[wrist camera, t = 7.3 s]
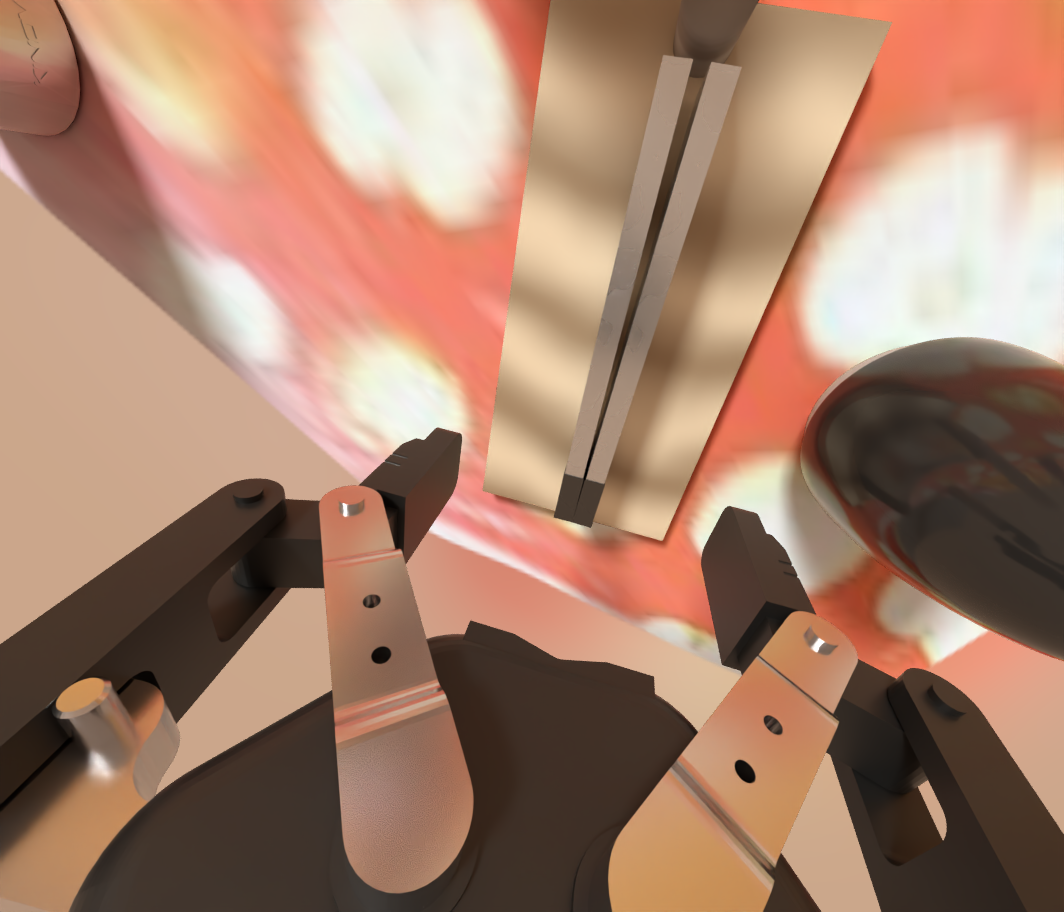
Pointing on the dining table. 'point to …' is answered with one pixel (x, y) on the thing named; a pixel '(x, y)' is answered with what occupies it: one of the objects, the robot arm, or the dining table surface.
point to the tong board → (709, 248)
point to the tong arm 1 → (625, 269)
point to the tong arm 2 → (658, 274)
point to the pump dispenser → (953, 477)
